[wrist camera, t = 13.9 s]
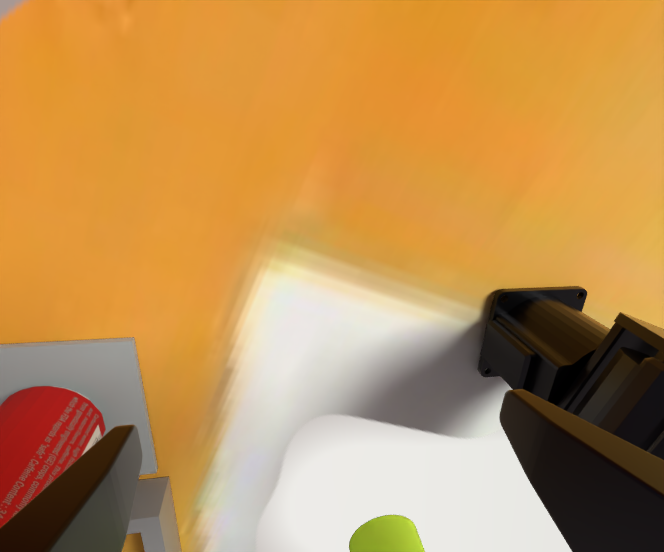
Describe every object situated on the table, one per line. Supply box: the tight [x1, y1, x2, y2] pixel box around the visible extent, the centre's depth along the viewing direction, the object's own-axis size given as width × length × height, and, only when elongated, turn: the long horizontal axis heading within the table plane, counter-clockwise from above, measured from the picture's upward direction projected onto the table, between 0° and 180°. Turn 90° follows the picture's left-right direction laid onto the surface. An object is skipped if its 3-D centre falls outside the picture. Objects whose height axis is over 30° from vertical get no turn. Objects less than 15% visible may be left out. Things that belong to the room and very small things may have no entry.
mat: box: [0, 337, 158, 475], centre depth 22 cm, size 10×10×1 cm
